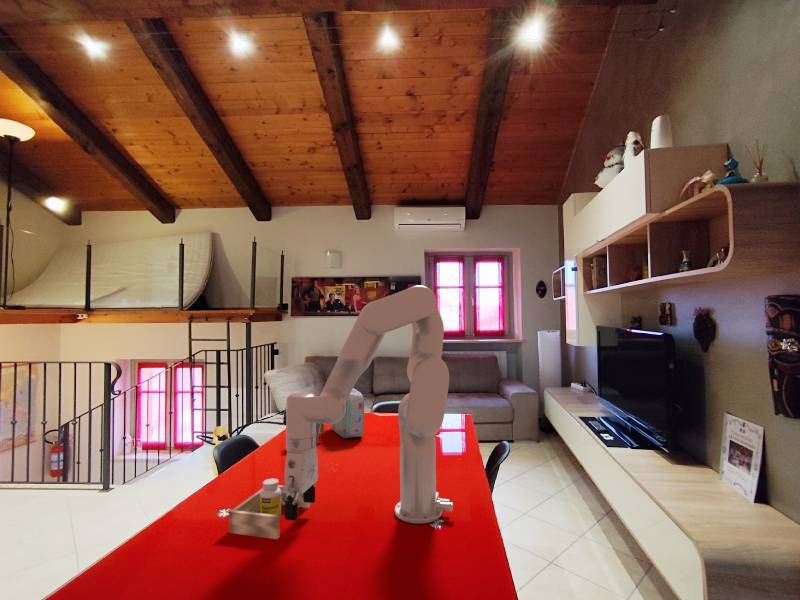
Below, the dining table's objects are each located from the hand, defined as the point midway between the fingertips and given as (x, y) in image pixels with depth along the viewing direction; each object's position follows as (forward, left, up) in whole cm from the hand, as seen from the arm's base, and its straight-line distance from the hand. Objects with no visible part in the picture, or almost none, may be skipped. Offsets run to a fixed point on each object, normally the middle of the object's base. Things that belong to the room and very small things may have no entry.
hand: (300, 510), depth 103 cm
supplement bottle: (+9, 0, -3) cm, 9 cm away
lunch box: (+19, -80, -3) cm, 82 cm away
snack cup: (+28, -60, -3) cm, 66 cm away
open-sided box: (+8, 0, -3) cm, 9 cm away
